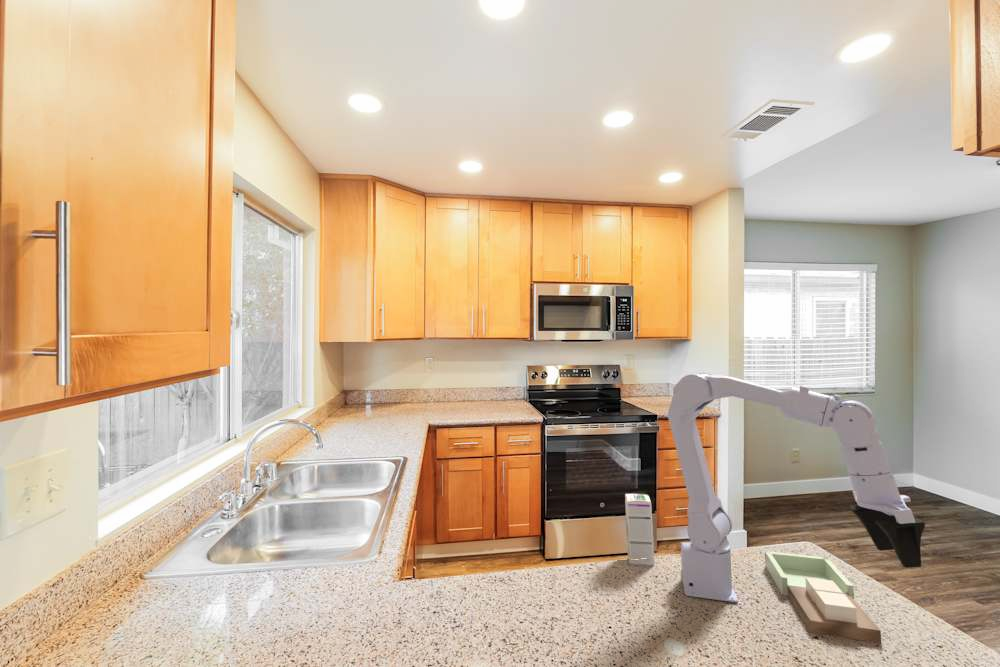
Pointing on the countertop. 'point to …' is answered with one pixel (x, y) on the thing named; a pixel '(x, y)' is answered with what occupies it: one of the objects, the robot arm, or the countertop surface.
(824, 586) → the tile
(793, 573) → the tray
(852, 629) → the board
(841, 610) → the tile
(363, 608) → the countertop surface
